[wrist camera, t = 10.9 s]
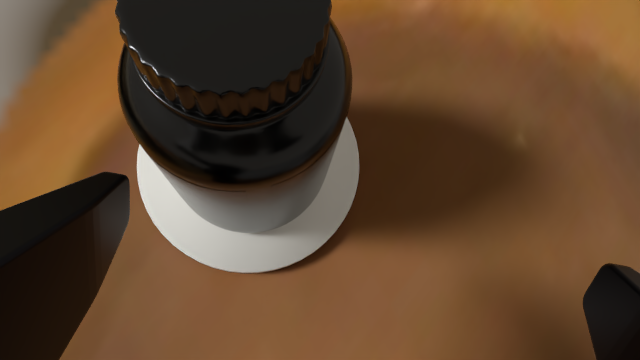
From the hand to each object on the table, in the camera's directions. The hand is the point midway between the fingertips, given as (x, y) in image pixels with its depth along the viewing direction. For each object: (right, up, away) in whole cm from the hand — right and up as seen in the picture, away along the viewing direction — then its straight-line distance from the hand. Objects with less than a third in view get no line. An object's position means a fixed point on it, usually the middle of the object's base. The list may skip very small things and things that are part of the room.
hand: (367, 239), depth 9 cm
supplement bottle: (-4, +2, +13) cm, 14 cm away
